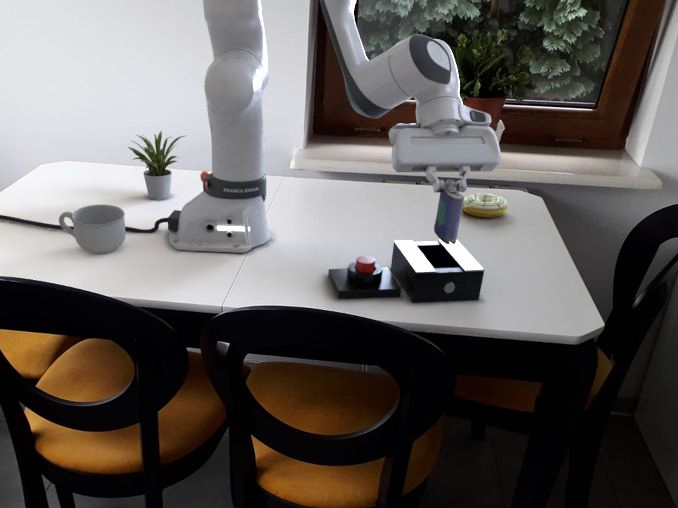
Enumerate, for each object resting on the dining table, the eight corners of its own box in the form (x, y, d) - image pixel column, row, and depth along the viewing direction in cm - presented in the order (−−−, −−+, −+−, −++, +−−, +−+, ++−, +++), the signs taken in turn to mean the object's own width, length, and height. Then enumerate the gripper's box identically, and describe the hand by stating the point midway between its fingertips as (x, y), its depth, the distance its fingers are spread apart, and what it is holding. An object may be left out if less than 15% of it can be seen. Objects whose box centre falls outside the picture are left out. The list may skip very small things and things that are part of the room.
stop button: (357, 274, 133) (358, 263, 132) (353, 266, 136) (354, 256, 135) (376, 273, 133) (377, 263, 132) (371, 265, 136) (372, 255, 135)
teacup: (136, 243, 153) (133, 208, 148) (110, 262, 144) (106, 225, 140) (80, 234, 156) (76, 199, 152) (52, 252, 147) (46, 215, 143)
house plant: (176, 183, 189) (173, 121, 181) (199, 198, 179) (197, 133, 171) (126, 191, 182) (120, 127, 174) (147, 207, 172) (142, 140, 164)
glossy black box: (413, 304, 130) (417, 273, 127) (390, 269, 144) (393, 240, 140) (487, 302, 132) (493, 271, 129) (458, 267, 145) (462, 238, 142)
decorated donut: (463, 203, 181) (465, 188, 179) (506, 208, 178) (509, 194, 176) (458, 216, 172) (461, 201, 170) (504, 221, 169) (507, 206, 167)
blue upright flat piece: (458, 245, 129) (467, 188, 124) (442, 245, 129) (451, 188, 124) (445, 226, 137) (453, 172, 132) (430, 226, 137) (438, 172, 132)
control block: (338, 299, 131) (339, 280, 129) (328, 277, 140) (329, 258, 138) (400, 297, 133) (402, 278, 131) (386, 275, 141) (388, 256, 139)
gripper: (392, 114, 128) (400, 183, 125) (498, 114, 131) (509, 182, 128) (383, 133, 134) (391, 199, 131) (485, 132, 137) (495, 198, 134)
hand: (450, 191), depth 129 cm, fingers closed on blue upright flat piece, 3 cm apart
